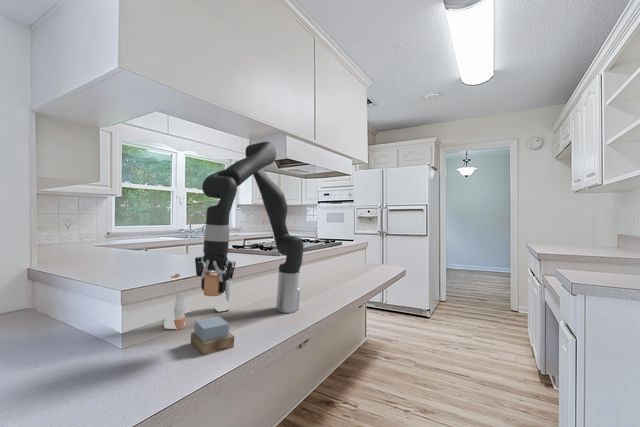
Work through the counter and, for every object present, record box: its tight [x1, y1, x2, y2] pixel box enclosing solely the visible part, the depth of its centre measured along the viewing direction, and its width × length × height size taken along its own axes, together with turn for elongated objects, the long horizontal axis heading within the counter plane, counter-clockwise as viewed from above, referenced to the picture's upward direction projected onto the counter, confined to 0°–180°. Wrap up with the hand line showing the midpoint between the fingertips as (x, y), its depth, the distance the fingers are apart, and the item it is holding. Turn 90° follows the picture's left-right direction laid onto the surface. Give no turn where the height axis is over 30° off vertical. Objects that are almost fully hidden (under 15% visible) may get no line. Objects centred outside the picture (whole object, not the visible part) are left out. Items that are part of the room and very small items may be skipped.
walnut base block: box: [190, 331, 235, 357], centre depth 102 cm, size 10×10×4 cm
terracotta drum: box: [203, 272, 222, 297], centre depth 101 cm, size 6×6×6 cm
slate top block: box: [193, 315, 230, 342], centre depth 102 cm, size 8×8×4 cm
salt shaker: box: [170, 273, 186, 331], centre depth 115 cm, size 7×7×19 cm
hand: (213, 291), depth 101 cm, fingers closed on terracotta drum, 5 cm apart
